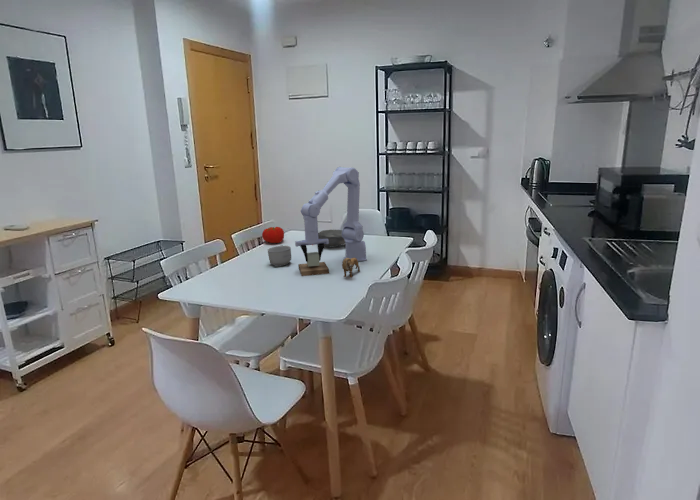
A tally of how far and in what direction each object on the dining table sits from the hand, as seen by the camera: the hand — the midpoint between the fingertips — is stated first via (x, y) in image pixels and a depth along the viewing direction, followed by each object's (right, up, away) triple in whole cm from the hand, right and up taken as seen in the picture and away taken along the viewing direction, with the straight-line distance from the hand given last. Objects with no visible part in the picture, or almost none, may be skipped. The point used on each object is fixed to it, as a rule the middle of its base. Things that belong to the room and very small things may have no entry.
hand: (313, 260), depth 203 cm
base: (0, -5, +1) cm, 5 cm away
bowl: (+8, +7, +43) cm, 45 cm away
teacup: (-16, -2, +15) cm, 22 cm away
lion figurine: (+17, -6, -6) cm, 19 cm away
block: (0, -2, +1) cm, 2 cm away
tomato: (-27, +9, +56) cm, 63 cm away
